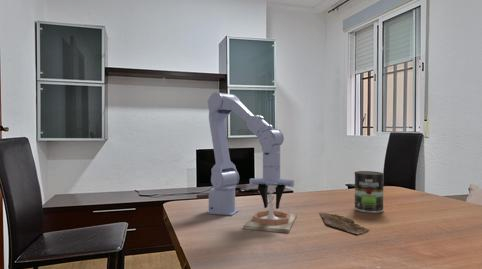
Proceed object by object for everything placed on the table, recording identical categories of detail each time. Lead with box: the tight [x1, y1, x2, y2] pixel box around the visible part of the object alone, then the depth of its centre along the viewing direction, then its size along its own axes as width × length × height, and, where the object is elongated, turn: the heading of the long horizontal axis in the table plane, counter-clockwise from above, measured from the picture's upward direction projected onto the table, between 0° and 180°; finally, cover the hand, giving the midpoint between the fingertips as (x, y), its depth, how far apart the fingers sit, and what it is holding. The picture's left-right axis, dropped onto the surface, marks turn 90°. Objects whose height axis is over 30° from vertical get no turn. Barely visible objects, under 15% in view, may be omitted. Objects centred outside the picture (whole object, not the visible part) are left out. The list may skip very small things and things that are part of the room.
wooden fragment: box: [319, 212, 370, 236], centre depth 104 cm, size 26×11×1 cm, turn 8°
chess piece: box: [264, 189, 278, 219], centre depth 103 cm, size 5×5×10 cm
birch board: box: [243, 211, 298, 234], centre depth 104 cm, size 14×18×1 cm
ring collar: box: [252, 209, 291, 225], centre depth 104 cm, size 12×12×2 cm
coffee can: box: [353, 170, 385, 214], centre depth 121 cm, size 10×10×14 cm
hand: (271, 207), depth 104 cm, fingers open, 3 cm apart
